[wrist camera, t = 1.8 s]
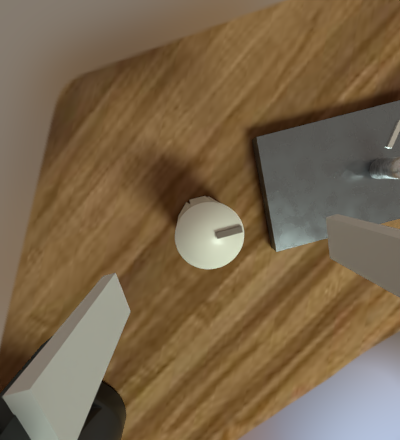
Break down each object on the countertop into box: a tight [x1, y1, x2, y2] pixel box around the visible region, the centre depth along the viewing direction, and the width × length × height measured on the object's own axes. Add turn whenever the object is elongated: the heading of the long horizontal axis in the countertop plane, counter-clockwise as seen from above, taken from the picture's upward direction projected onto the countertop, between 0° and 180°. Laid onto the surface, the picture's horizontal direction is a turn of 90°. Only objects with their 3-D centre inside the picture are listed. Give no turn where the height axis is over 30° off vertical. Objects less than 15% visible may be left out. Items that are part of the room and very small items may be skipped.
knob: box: [175, 196, 244, 269], centre depth 21 cm, size 6×6×7 cm
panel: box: [252, 100, 400, 252], centre depth 22 cm, size 22×14×6 cm, turn 104°
